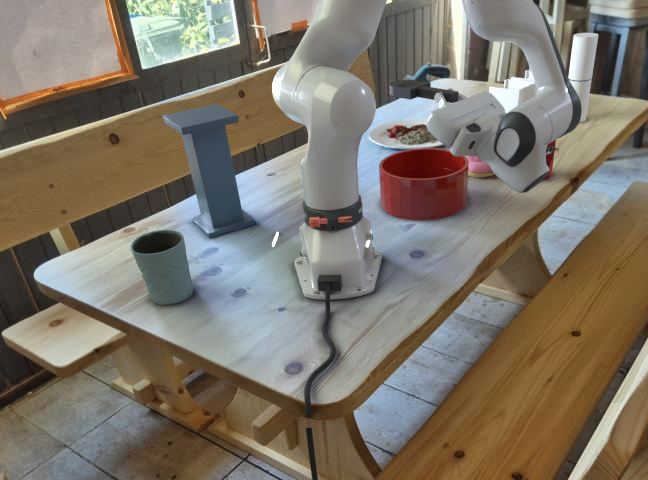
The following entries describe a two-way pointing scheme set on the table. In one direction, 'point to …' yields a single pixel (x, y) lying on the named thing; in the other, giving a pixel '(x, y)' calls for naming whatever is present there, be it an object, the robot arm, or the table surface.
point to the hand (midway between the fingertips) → (442, 93)
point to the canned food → (550, 157)
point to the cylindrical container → (583, 67)
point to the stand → (211, 168)
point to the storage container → (515, 91)
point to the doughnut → (479, 167)
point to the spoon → (419, 90)
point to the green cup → (163, 265)
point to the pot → (423, 183)
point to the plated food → (404, 135)
